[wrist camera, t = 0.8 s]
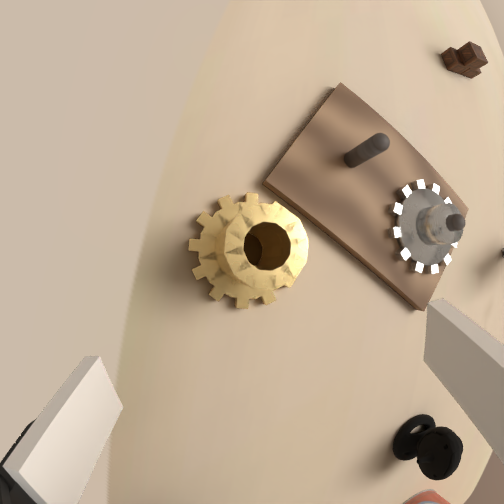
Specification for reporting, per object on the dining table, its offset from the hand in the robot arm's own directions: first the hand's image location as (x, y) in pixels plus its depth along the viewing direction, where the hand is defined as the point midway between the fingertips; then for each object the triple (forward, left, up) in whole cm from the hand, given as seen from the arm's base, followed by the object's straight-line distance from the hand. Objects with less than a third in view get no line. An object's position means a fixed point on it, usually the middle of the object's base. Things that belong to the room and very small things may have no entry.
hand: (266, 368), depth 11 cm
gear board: (+20, -9, -20) cm, 30 cm away
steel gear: (+20, -15, -18) cm, 31 cm away
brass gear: (+6, +1, -20) cm, 21 cm away
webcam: (-2, -34, -20) cm, 39 cm away
